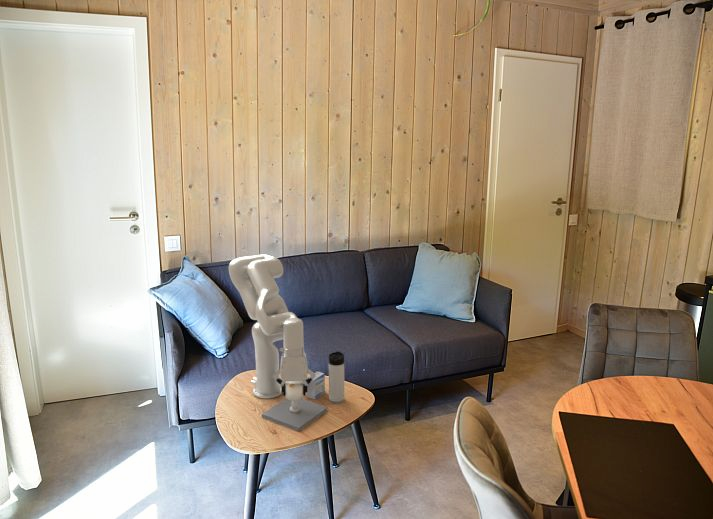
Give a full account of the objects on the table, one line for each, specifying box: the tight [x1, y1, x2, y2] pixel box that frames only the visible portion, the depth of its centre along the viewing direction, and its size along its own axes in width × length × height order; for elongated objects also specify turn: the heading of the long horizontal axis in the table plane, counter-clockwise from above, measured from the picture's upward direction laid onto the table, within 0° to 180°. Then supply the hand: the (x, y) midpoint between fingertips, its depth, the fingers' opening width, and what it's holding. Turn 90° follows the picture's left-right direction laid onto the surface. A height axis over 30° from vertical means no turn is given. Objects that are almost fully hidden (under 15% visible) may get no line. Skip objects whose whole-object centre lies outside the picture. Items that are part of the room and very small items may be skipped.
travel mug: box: [328, 350, 345, 405], centre depth 219 cm, size 6×7×20 cm
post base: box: [261, 398, 329, 432], centre depth 210 cm, size 18×18×7 cm
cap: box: [284, 381, 305, 401], centre depth 208 cm, size 7×7×6 cm
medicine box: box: [305, 371, 326, 400], centre depth 225 cm, size 8×4×9 cm, turn 150°
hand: (294, 393), depth 208 cm, fingers closed on cap, 7 cm apart
